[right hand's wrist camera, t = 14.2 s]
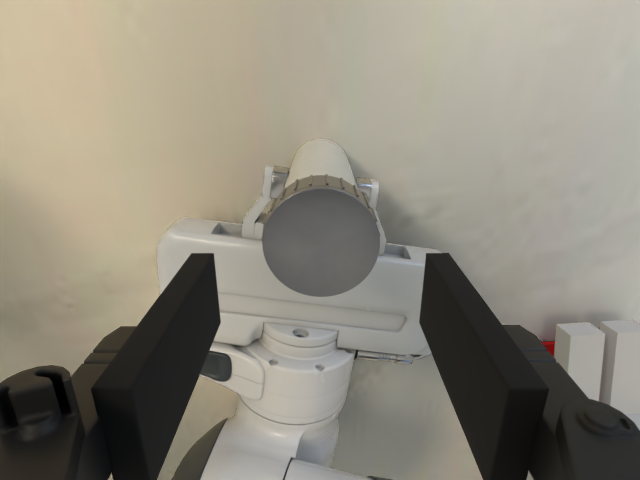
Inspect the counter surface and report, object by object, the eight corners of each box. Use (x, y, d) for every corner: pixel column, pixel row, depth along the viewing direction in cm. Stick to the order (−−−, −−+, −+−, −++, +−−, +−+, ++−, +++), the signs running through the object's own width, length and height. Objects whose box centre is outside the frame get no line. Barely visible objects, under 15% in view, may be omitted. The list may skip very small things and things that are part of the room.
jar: (358, 153, 33) (391, 218, 18) (333, 203, 34) (344, 301, 19) (306, 128, 32) (295, 174, 17) (283, 180, 33) (254, 263, 18)
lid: (394, 201, 19) (404, 218, 17) (345, 290, 21) (348, 315, 19) (294, 154, 19) (290, 164, 16) (251, 250, 20) (242, 271, 18)
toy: (745, 358, 28) (686, 678, 35) (612, 289, 41) (588, 532, 48) (563, 368, 28) (540, 682, 35) (489, 297, 41) (483, 536, 48)
